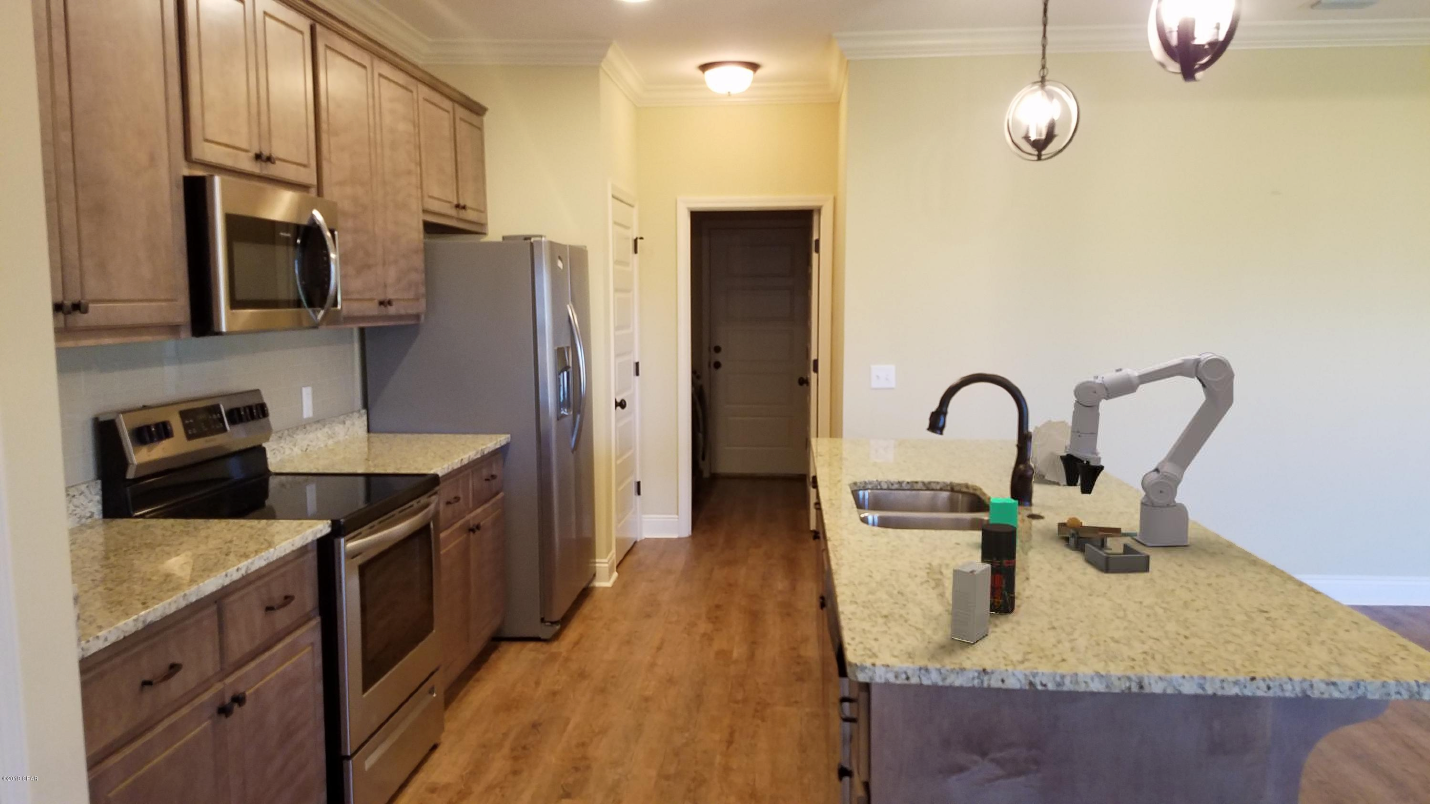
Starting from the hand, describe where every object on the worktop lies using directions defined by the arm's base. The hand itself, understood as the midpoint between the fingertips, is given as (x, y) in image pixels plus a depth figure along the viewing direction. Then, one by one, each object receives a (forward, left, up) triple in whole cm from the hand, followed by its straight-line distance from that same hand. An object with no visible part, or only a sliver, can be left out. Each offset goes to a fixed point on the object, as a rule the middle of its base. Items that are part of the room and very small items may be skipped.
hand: (1078, 489), depth 208 cm
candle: (+20, +6, -11) cm, 23 cm away
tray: (+2, +22, -11) cm, 25 cm away
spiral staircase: (-22, -63, -11) cm, 68 cm away
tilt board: (-1, +9, -8) cm, 12 cm away
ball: (+2, +1, -8) cm, 8 cm away
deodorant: (+35, +46, -11) cm, 59 cm away
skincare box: (+44, +59, -11) cm, 74 cm away
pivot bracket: (+2, +9, -11) cm, 14 cm away
